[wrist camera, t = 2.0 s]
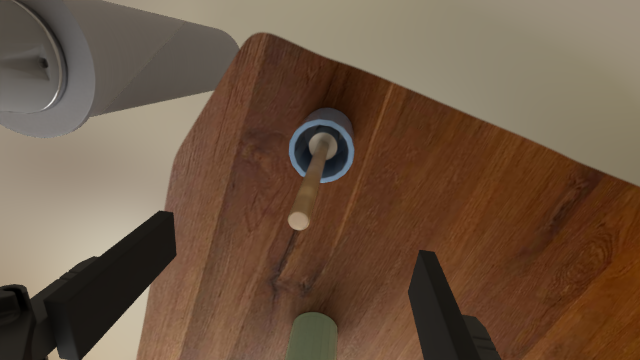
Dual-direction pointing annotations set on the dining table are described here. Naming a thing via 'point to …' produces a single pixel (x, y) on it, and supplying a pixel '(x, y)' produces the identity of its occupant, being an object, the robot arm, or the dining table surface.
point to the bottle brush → (313, 175)
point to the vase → (312, 338)
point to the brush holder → (304, 134)
